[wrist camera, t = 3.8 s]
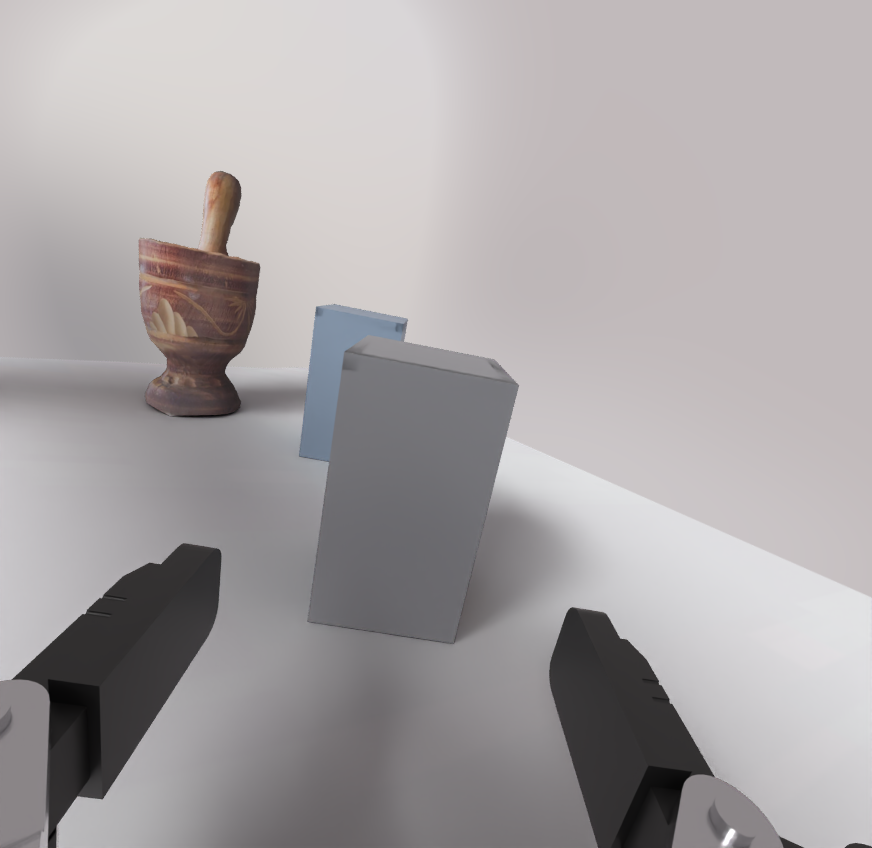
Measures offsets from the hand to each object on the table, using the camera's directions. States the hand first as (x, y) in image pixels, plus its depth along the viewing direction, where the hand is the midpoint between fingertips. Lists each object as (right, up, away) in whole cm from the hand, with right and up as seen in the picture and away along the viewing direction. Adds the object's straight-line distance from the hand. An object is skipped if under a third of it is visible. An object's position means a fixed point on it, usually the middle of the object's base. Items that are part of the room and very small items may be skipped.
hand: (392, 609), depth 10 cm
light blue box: (-6, +2, +26) cm, 27 cm away
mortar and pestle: (-21, +6, +30) cm, 38 cm away
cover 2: (-1, -3, +11) cm, 11 cm away
